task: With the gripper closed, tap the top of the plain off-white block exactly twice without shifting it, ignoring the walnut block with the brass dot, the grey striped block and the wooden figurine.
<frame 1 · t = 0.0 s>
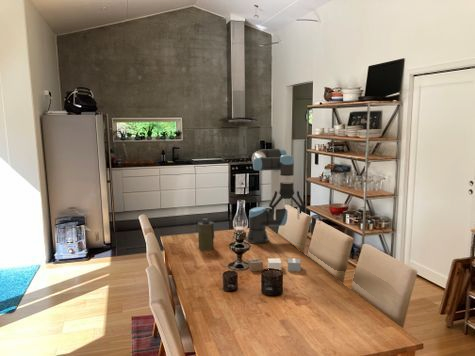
hand: (286, 219, 218), 28 cm above the table, fingers open, 13 cm apart
walnut block: (255, 268, 219), on the table
grey block: (293, 269, 218), on the table
canister: (206, 248, 256), on the table
plain block: (274, 268, 219), on the table
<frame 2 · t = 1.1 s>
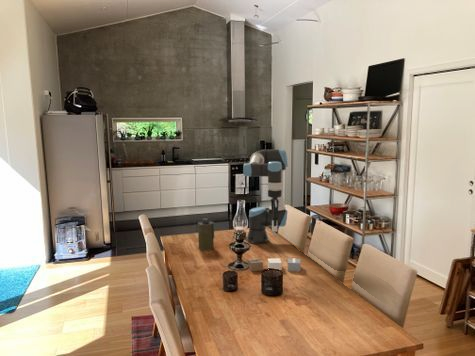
hand: (274, 230, 215), 22 cm above the table, fingers closed
nothing on the table moved.
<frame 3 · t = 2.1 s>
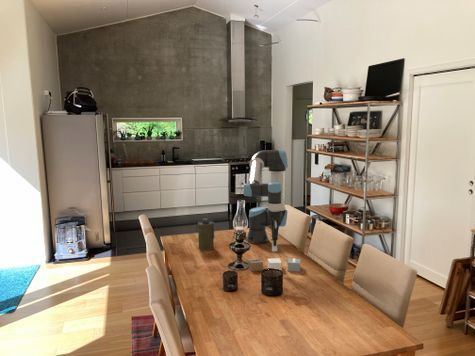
hand: (274, 250, 217), 11 cm above the table, fingers closed
nothing on the table moved.
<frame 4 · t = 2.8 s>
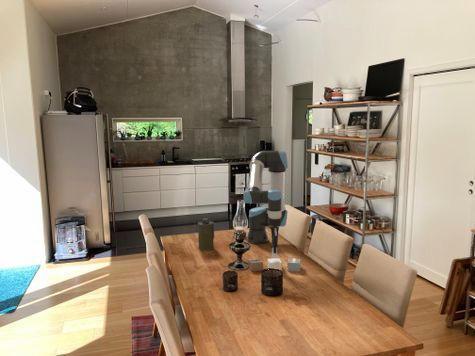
hand: (274, 257, 217), 6 cm above the table, fingers closed
nothing on the table moved.
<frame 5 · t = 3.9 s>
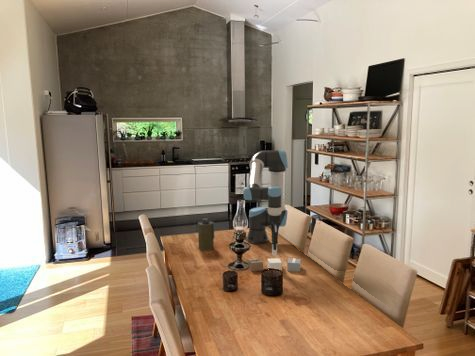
hand: (274, 254, 217), 8 cm above the table, fingers closed
nothing on the table moved.
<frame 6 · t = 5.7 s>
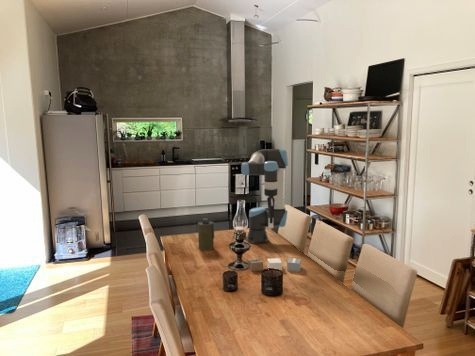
hand: (270, 227, 223), 22 cm above the table, fingers closed
nothing on the table moved.
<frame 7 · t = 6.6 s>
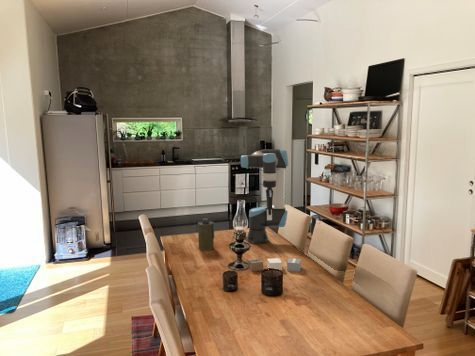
hand: (269, 219, 224), 26 cm above the table, fingers closed
nothing on the table moved.
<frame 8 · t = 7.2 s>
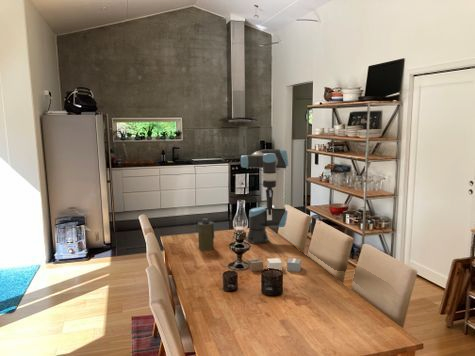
hand: (269, 219, 224), 26 cm above the table, fingers closed
nothing on the table moved.
at the end: plain block moved 0.2 cm from its start; plain block tilted 0°; walnut block moved 0.2 cm from its start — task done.
